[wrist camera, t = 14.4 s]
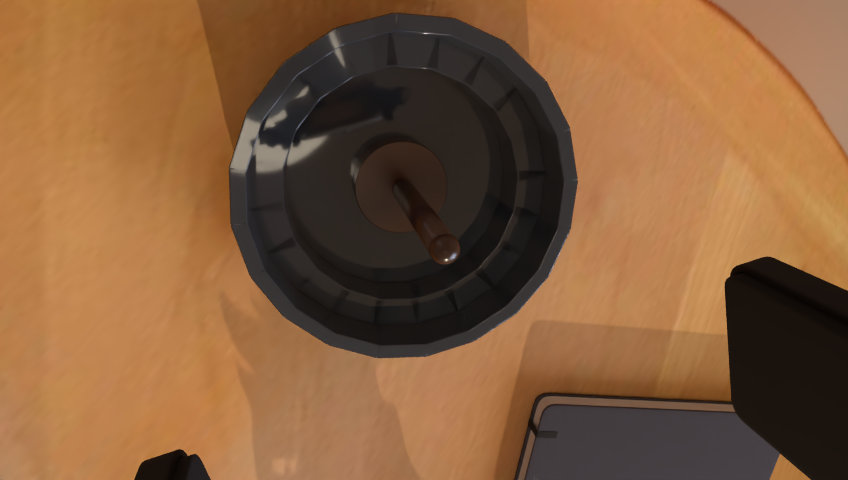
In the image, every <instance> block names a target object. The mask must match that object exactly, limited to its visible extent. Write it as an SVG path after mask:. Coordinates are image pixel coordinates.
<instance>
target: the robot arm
mask: <svg viewBox="0 0 848 480" xmlns="http://www.w3.org/2000/svg"><path fill="white" fill-rule="evenodd" d="M725 300H726V317H727V334H728V351H729V368H730V385H731V400H732V405H733V408H734V410H735V412H736V414H737V415H738V417H739V418H740V419H741V420H742V421H743V422H744V423H745V424H746V425H747V426H748V427H750V428H751V429H752V430H753V431H754V432H755V433H757V434H758V435H759V436H760V437H761V438H763V439H764V440H765V441H766V442H767V443H768V444H770V445H771V446H772V447H773V448H774V449H776V450H777V451H778V452H779V453H780V454H781V455H783V456H784V457H785V458H786V459H787V460H788V461H790V462H791V463H792V464H793V465H794V466H796V467H797V468H798V469H799V470H800V471H801V472H803V473H804V474H805V475H806V476H807V477H809V478H810V479H811V480H848V291H847V290H844V289H842V288H840V287H838V286H835V285H833V284H831V283H829V282H826V281H824V280H822V279H820V278H817V277H815V276H813V275H811V274H808V273H806V272H804V271H802V270H799V269H797V268H795V267H793V266H790V265H788V264H786V263H784V262H781V261H779V260H777V259H775V258H772V257H762V258H759V259H756V260H753V261H750V262H747V263H744V264H741V265H738V266H736V267H734V268H733V269H732V272H731V275H730V277H729V278H727V279H726V282H725ZM134 480H211V479H210V477H209V475H208V473H207V471H206V469H205V467H204V465H203V463H202V461H201V459H200V458H199V456H198V455H196V454H193V455H190V456H187V454H186V453H185V452H184V451H183V450H180V449H179V450H176V451H172V452H169V453H166V454H163V455H160V456H157V457H154V458H151V459H148V460H145V461H144V462H142V463H141V465H140V467H139V469H138V472H137V474H136V477H135V479H134Z"/></svg>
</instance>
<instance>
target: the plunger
mask: <svg viewBox="0 0 848 480" xmlns="http://www.w3.org/2000/svg"><path fill="white" fill-rule="evenodd" d="M447 188H448V185H447V176H446V172H445V169H444V167H443V165H442V163H441V162H440V160H439V159H438V158H437V156H436V155H435V154H434V153H433V152H431V151H430V150H429V149H428V148H427V147H425V146H424V145H422V144H421V143H420V142H418V141H416V140H413V139H410V138H406V137H389V138H385V139H382V140H380V141H378V142H376V143H374V144H372V145H371V146H370V147H368V148H367V149H366V150H365V151H364V152H363V154H362V155H361V156H360V158H359V159H358V161H357V164H356V166H355V169H354V173H353V189H354V194H355V197H356V200H357V203H358V205H359V208H360V209H361V211H362V213H363V214H364V216H365V217H366V218H367V219H368V220H369V221H370V222H371V223H372V224H374V225H375V226H377V227H378V228H381V229H383V230H386V231H389V232H395V233H405V232H411V231H416V233H417V234H418V236H419V238H420V239H421V241H422V243H423V244H424V246H425V248H426V249H427V251H428V253H429V254H430V256H431V257H432V259H433V260H434V261H435V262H437V263H439V264H450V263H452V262H454V261H455V260H456V259H457V258H458V256H459V253H460V244H459V242H458V240H457V239H456V237H455V236H454V235H453V234H452V232H451V231H450V230H449V229H448V227H447V226H446V225H445V224H444V222H443V221H442V220H441V219H440V218H439V216H438V213H439V212H440V210H441V208H442V207H443V205H444V202H445V199H446V195H447Z"/></svg>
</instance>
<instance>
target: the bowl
mask: <svg viewBox="0 0 848 480" xmlns="http://www.w3.org/2000/svg"><path fill="white" fill-rule="evenodd" d="M389 137H406V138H410V139H413V140H416V141H418V142H420V143H421V144H422V145H424V146H425V147H427V148H428V149H429V150H430V151H431V152H433V153H434V154H435V155H436V156H437V158H438V159H439V160H440V162H441V163H442V165H443V167H444V169H445V172H446V176H447V185H448V188H447V195H446V199H445V202H444V205H443V207H442V208H441V210H440V212H439V213H438V216H439V218H440V219H441V220H442V221H443V222H444V224H445V225H446V226H447V227H448V229H449V230H450V231H451V232H452V234H453V235H454V236H455V237H456V239H457V240H458V242H459V244H460V253H459V256H458V258H457V259H456V260H455V261H454V262H452V263H450V264H439V263H437V262H435V261H434V260H433V259H432V257H431V256H430V254H429V253H428V251H427V249H426V248H425V246H424V244H423V243H422V241H421V239H420V238H419V236H418V234H417V233H416V231H411V232H405V233H395V232H389V231H386V230H383V229H381V228H378V227H377V226H375V225H374V224H372V223H371V222H370V221H369V220H368V219H367V218H366V217H365V216H364V214H363V213H362V211H361V209H360V208H359V205H358V203H357V200H356V197H355V194H354V189H353V173H354V169H355V166H356V164H357V161H358V159H359V158H360V156H361V155H362V154H363V152H364V151H365V150H366V149H367V148H368V147H370V146H371V145H372V144H374V143H376V142H378V141H380V140H382V139H385V138H389ZM577 183H578V180H577V172H576V165H575V159H574V152H573V146H572V139H571V132H570V127H569V125H568V123H567V121H566V119H565V117H564V115H563V113H562V111H561V109H560V107H559V105H558V103H557V101H556V99H555V97H554V95H553V93H552V91H551V89H550V87H549V85H548V83H547V81H545V79H544V78H543V77H542V76H541V75H540V74H539V73H538V72H537V71H536V70H535V69H533V68H532V67H531V66H530V65H529V64H528V63H527V62H526V61H525V60H524V59H523V58H522V57H521V56H520V55H519V54H518V53H517V52H516V51H515V50H514V49H513V48H512V47H511V46H510V45H509V44H508V43H506V42H505V41H503V40H501V39H499V38H497V37H495V36H492V35H490V34H488V33H486V32H484V31H482V30H480V29H477V28H475V27H473V26H471V25H469V24H467V23H464V22H462V21H460V20H458V19H456V18H450V17H439V16H429V15H418V14H407V13H390V14H387V15H383V16H379V17H375V18H371V19H367V20H363V21H359V22H355V23H351V24H347V25H343V26H339V27H337V28H334V29H332V30H331V31H329V32H328V33H326V34H325V35H323V36H322V37H320V38H319V39H317V40H316V41H314V42H313V43H311V44H310V45H308V46H307V47H305V48H304V49H302V50H301V51H299V52H298V53H296V54H295V55H293V56H292V57H290V58H289V59H287V60H286V61H285V62H284V63H283V64H282V65H281V66H280V68H279V69H278V70H277V72H276V73H275V74H274V76H273V77H272V78H271V80H270V81H269V82H268V84H267V85H266V86H265V88H264V89H263V90H262V92H261V93H260V94H259V96H258V97H257V98H256V100H255V101H254V102H253V104H252V105H251V106H250V107H249V109H248V111H247V112H246V115H245V119H244V122H243V125H242V128H241V131H240V134H239V137H238V140H237V144H236V147H235V150H234V153H233V156H232V159H231V162H230V166H229V190H230V224H231V228H232V230H233V233H234V236H235V238H236V241H237V244H238V246H239V249H240V251H241V254H242V257H243V259H244V262H245V264H246V267H247V270H248V272H249V275H250V276H251V278H252V280H253V281H254V282H255V283H256V284H257V286H258V287H259V288H260V289H261V290H262V292H263V293H264V294H265V295H266V296H267V298H268V299H269V300H270V301H271V303H272V304H273V305H274V306H275V307H276V309H277V310H278V311H279V312H280V313H281V315H282V316H283V317H285V318H286V319H288V320H289V321H291V322H292V323H294V324H295V325H297V326H299V327H300V328H302V329H303V330H305V331H307V332H308V333H310V334H311V335H313V336H315V337H316V338H318V339H319V340H321V341H322V342H324V343H326V344H328V345H330V346H333V347H337V348H341V349H345V350H348V351H352V352H356V353H360V354H364V355H367V356H371V357H375V358H400V357H427V356H430V355H433V354H436V353H439V352H442V351H446V350H449V349H452V348H455V347H458V346H461V345H464V344H467V343H471V342H473V341H476V340H477V339H479V338H480V337H482V336H483V335H485V334H486V333H488V332H489V331H491V330H492V329H494V328H495V327H497V326H498V325H500V324H501V323H503V322H504V321H506V320H508V319H509V318H511V317H512V316H514V315H515V314H517V312H518V311H519V310H520V309H521V308H522V307H523V306H524V304H525V303H526V302H527V301H528V300H529V299H530V298H531V296H532V295H533V294H534V293H535V292H536V291H537V289H538V288H539V287H540V286H541V285H542V284H543V283H544V281H545V280H546V279H547V278H548V277H549V275H550V272H551V270H552V268H553V266H554V264H555V262H556V260H557V258H558V255H559V253H560V251H561V249H562V247H563V245H564V243H565V241H566V238H567V236H568V234H569V232H570V231H569V230H570V229H571V223H572V216H573V209H574V203H575V196H576V190H577Z"/></svg>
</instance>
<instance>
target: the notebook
mask: <svg viewBox="0 0 848 480" xmlns="http://www.w3.org/2000/svg"><path fill="white" fill-rule="evenodd" d="M779 454H780V453H779V452H778V451H777V450H776V449H774V448H773V447H772V446H771V445H770V444H768V443H767V442H766V441H765V440H764V439H763V438H761V437H760V436H759V435H758V434H757V433H755V432H754V431H753V430H752V429H751V428H750V427H748V426H747V425H746V424H745V423H744V422H743V421H742V420H741V419H740V418H739V417H738V415H737V414H736V412H735V410H734V408H733V405H732V402H715V401H695V400H675V399H654V398H634V397H614V396H593V395H573V394H553V393H547V394H542V395H540V396H539V397H538V398H537V399H536V400H535V403H534V406H533V410H532V414H531V417H530V420H529V424H528V429H527V433H526V437H525V441H524V445H523V449H522V453H521V456H520V460H519V464H518V468H517V472H516V476H515V480H769V479H770V477H771V474H772V472H773V469H774V467H775V464H776V462H777V459H778V457H779Z"/></svg>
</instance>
